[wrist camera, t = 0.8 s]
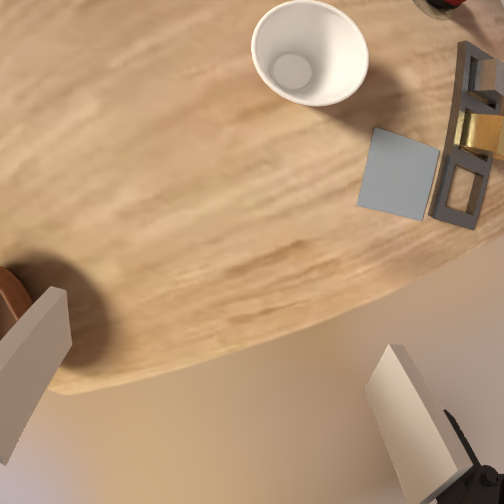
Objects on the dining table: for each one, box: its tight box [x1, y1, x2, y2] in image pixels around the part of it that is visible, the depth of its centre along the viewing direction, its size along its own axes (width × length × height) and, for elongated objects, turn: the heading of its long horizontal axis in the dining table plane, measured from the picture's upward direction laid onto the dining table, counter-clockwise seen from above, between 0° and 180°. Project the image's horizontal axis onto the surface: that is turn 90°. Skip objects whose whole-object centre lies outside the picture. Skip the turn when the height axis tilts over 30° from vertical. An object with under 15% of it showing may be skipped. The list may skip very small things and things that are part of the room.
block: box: [467, 59, 504, 104], centre depth 28 cm, size 5×5×7 cm
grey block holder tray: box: [428, 41, 501, 230], centre depth 33 cm, size 26×8×2 cm, turn 170°
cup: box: [251, 0, 369, 107], centre depth 27 cm, size 10×10×11 cm
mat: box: [357, 127, 439, 221], centre depth 36 cm, size 10×10×1 cm
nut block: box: [459, 113, 504, 161], centre depth 30 cm, size 5×5×9 cm
